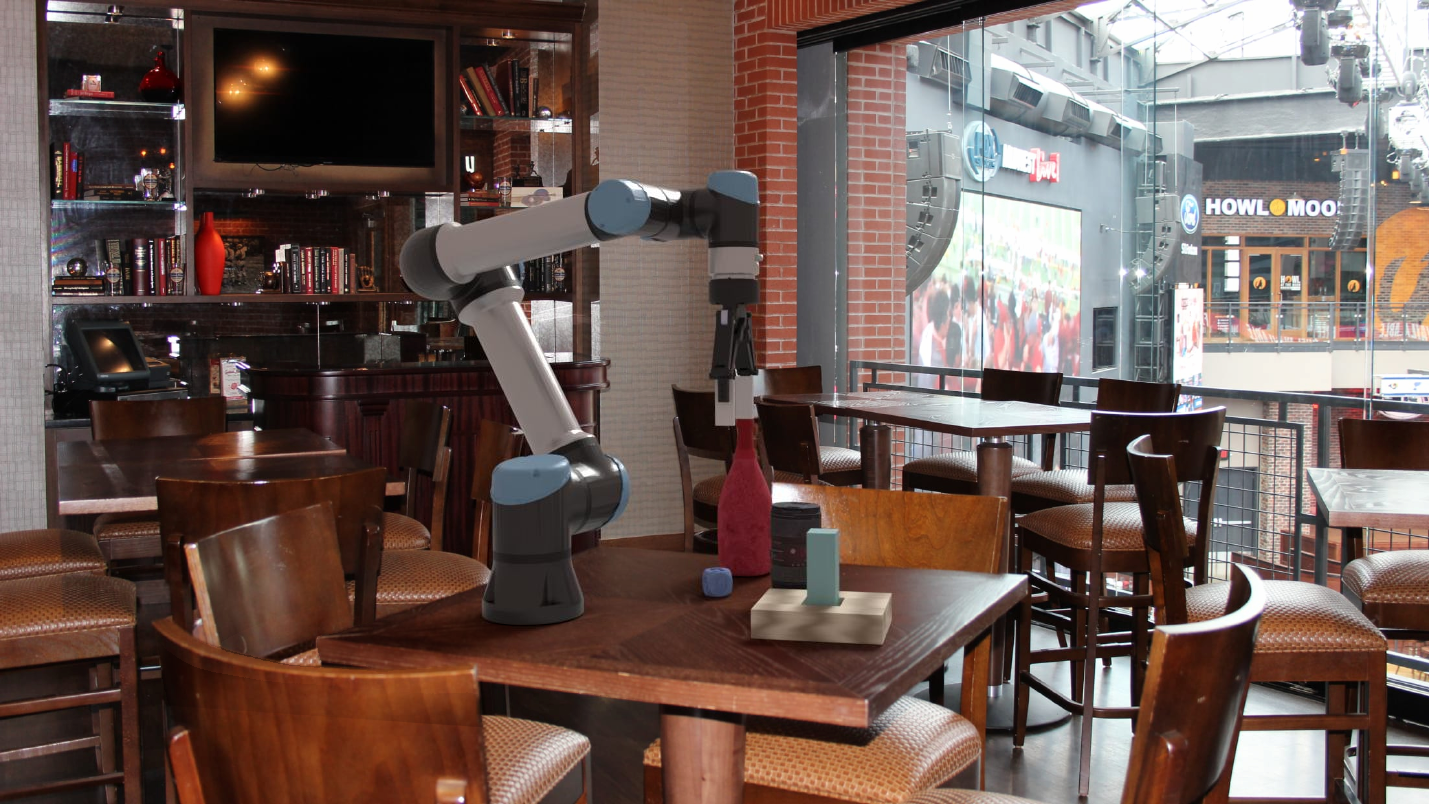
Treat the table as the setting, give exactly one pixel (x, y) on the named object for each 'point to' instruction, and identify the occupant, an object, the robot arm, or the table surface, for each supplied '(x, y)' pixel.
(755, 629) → the socket block
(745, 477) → the wine bottle
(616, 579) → the table surface
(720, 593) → the decorative dice
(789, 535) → the camera lens
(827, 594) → the peg
